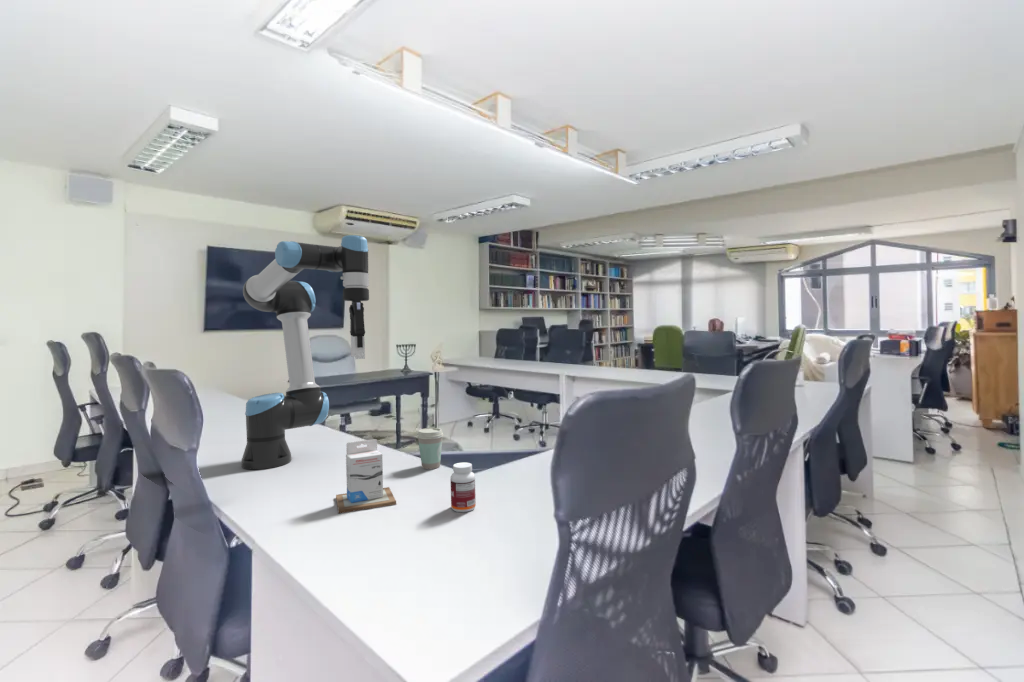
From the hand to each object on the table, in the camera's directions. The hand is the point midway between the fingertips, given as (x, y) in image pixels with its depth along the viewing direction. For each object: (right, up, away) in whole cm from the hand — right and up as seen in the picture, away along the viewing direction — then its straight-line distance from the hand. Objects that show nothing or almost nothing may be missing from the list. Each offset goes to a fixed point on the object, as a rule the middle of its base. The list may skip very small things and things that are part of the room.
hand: (357, 357), depth 146 cm
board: (+8, -37, -19) cm, 43 cm away
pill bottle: (+35, -37, -26) cm, 57 cm away
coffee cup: (+21, -36, +11) cm, 43 cm away
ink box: (+8, -37, -20) cm, 42 cm away
